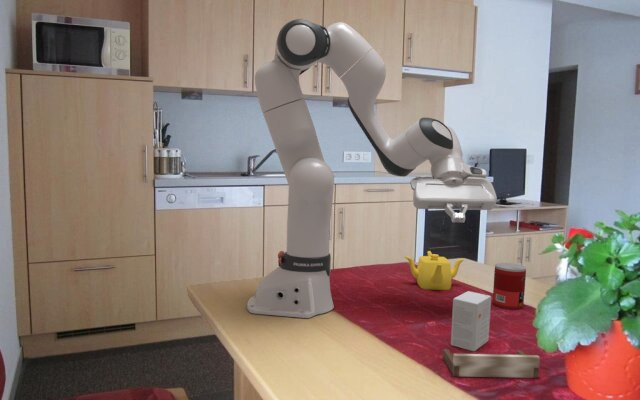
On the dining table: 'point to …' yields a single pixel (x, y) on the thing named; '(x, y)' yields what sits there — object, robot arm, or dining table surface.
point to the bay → (492, 365)
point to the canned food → (509, 285)
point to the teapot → (434, 271)
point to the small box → (470, 320)
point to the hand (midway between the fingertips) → (458, 221)
